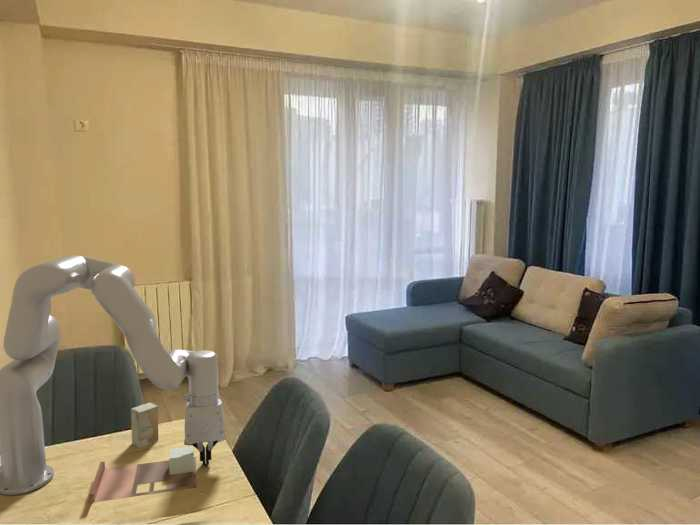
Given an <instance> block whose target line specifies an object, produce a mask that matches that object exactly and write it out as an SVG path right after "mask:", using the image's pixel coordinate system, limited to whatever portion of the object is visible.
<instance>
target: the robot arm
mask: <svg viewBox="0 0 700 525" xmlns="http://www.w3.org/2000/svg"><path fill="white" fill-rule="evenodd" d="M135 277H136V276H135V275H134V273H133V271H132V270H131V269H130V268H128V267H127V266H125V265H122V264H119V263H114V262H112V261H111V262H109V261H107V260H106V261H105V260H101V259H96V258H91V257H88V256H83V255H77V254H73V255H72V254H71V255H66V256H62V257H59V258H56V259H53V260H50V261H45V262H43V263H41V264H40V263H39V264H36V265H34V266H31V267H29V268H26V270H25V269H24V271H23V272H22V273H21V274H20V275H18V277H17V279H16V281H15V283H14V287H13V290H12V291H13V292H12V297H11V298H12V299H11V304H10V307H9V312H8V317H7V323H6V328H5V333H4V337H3V350H4V352H5V354H6V355H7V357H8V358H10V359H12V361H10V362H9V363H7V364H6V365H4V366H2V367H1V368H0V464H1V466H0V494H1V495H6V496H7V495H8V496H13V495H15V496H16V495H22V494H27V493H29V492H32V491H35V490H38V489H39V488H42V487H43V486H45V485H46V484H48V483H49V482H50V481H51V480H52V479H53V477H54V474H55V473H54V468H53V467H52V466H50V465H48V464H47V460H46V459H47V458H46V449H45V448H46V447H45V446H46V445H45V435H44V423H43V421H44V420H43V414H42V412H43V411H42V406H41V404H40V401H39V398H38V396H37V391H39V389H40V388H41V387H42V386H43V385H44V384H45V383H47V382H48V380H49V379H50V378H51V377H52V375H53V372H54V369H55V365H56V360H57V356H58V351H59V345H60V340H61V327H60V324H59V322H58V320H57V319H56V318H55V316H52V315H51V310H52V298H53V297H56V296H58V295H60V296H61V295H63V294H66V293H70V292H71V291H73V290H75V289H77V288H79V289H84V290H89V291H90V292H91V294H92V296H93V298H94V299H95V300H96V301H97V303H99V305H100V306H101V307H102V309H103V310H104V311H105V312H106V313H107V315H109V318H111V320H112V321H113V322H114V323H115V325H116V326H117V327H118V329H119V330H120V331H121V333H122V335H123V336H124V337H125V338H124V339H125V341H126V344H127V345H128V348H129V350H130V352H131V354H132V356H133V359H134V361H135V363H136V365H138V367H139V369H141V371H142V372H143V374H144V375H145V376H146V377H147V378H148V380H149V381H151V383H152V384H153V385H154V386H155V387H157V388H159V389H160V390H165V391H170V390H174V389H176V388H178V387H179V386H180V385H181V384H182V382H183V381H184V379H185V377H187V378H188V393H187V394H185V395H183V396H182V400H183V401H187V403H186V406H185V413H184V440H183V444H184V445H185V446H189V447H191V446H193V448H195V449H197V451H198V452H199V462H202V467H203V466H205V465H206V466H209V465H210V461H212V450H213V448H214V447H215V446H216V445H217V444H218V443H221V442H224V441H226V438H227V437H226V436H227V435H226V425H225V414H224V413H225V412H224V407H223V402H222V399H221V398H220V397H219V396H220V395H219V394H220V393H219V391H220V390H219V361H218V358H219V356H218V354H217V353H216V352H214V351H212V350H207V349H205V350H203V349H202V350H196V351H195V350H185V349H181V348H180V349H179V348H173V349H170V350H166V348H165V347H164V345H163V344H162V342H161V340H160V338H159V334H158V331H157V322H156V317H155V315H154V312H153V310H151V308H150V307H149V306H148V304H147V303H146V302H145V301H144V300H143V298H142V297H141V296H140V294H139V293H138V292H137V291H136V289H135V288H134V287H135V284H136V278H135ZM204 443H207V444H206V446H205V445H204Z"/></svg>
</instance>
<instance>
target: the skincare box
mask: <svg viewBox="0 0 700 525" xmlns="http://www.w3.org/2000/svg"><path fill="white" fill-rule="evenodd" d="M158 409H159V407H158V405H156V404H154V403H152V402H147V403H144V404H141V405H138V406H135V407H132V408H131V409H130V415H131V416H130V417H131V418H130V420H131V424H130V425H131V444H132V445H133V446H135V447H136V448H138V449H142V448H144V447H147V446H149V445H151V444H154V443H156V442H158V441H159V413H158V412H159V410H158Z"/></svg>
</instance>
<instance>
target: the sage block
mask: <svg viewBox="0 0 700 525" xmlns="http://www.w3.org/2000/svg"><path fill="white" fill-rule="evenodd" d="M194 454H195V453H194V446H193V445H191V446H183V447H178V448H177V447H176V448H169V455H168V460H169V470H170V475H172V474H179V473H186V472H194V457H195V456H194Z"/></svg>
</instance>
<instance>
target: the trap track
mask: <svg viewBox="0 0 700 525" xmlns="http://www.w3.org/2000/svg"><path fill="white" fill-rule="evenodd" d="M196 457H197V456H194V472H186V473H179V474H172V475H170V470H169V459H168V460H160V461H154V462H153V461H151V462H146V463H138V464H130V465H121V466H115V467H114V466H113V467H108V468H106V467H105V466H106V464H105V463H106V462H105V461H100V463H99V465H98V469H97V471H96V474H95V477H94V480H93V483H92V485H91V489H90V491H89V509H90V508H91V507H92V503H97V502H103V501H105V502H106V501H110V500H111V501H113V500H118V499H124V498H131V497H132V498H133V497H140V496H145V495H153V494H154V495H155V494H160V493H167V492H173V491H180V490H187V489H193V488H197V478H196V477H197V469H196V468H197V466H196V465H197V460H196V459H197V458H196ZM160 482H166V488H165V489H159V490H158V489H157V490H154V489H155V483H160ZM143 484H149V490H148V491H145V492H139V493H137V491H138V490H137V489H138V485H143Z"/></svg>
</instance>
